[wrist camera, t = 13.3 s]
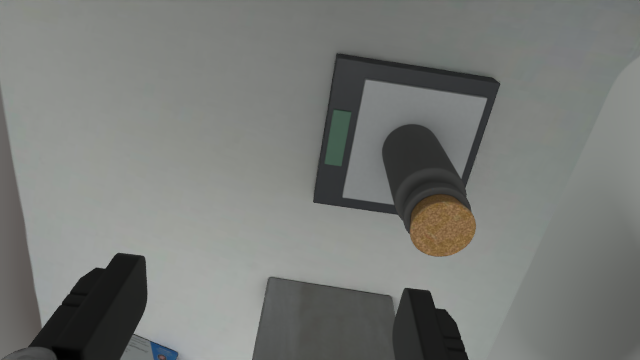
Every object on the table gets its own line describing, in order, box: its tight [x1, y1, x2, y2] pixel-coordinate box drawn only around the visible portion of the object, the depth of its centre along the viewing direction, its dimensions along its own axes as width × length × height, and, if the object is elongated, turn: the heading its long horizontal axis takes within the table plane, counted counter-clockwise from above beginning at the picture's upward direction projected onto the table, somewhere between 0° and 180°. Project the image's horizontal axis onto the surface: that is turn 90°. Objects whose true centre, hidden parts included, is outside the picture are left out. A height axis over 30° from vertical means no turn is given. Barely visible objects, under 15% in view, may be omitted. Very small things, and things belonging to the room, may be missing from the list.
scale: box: [313, 53, 500, 215], centre depth 47 cm, size 16×16×3 cm
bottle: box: [382, 124, 476, 256], centre depth 39 cm, size 6×6×15 cm
